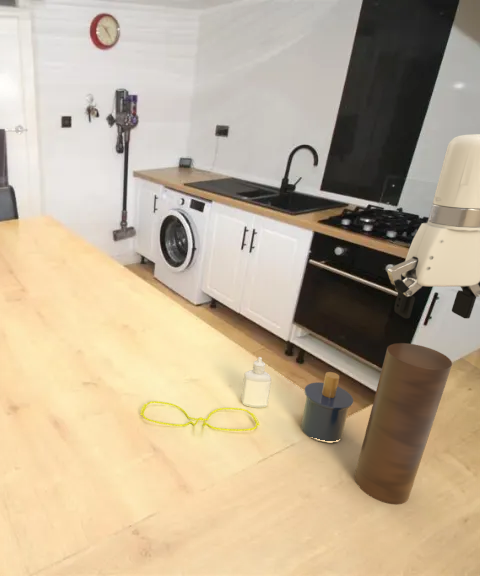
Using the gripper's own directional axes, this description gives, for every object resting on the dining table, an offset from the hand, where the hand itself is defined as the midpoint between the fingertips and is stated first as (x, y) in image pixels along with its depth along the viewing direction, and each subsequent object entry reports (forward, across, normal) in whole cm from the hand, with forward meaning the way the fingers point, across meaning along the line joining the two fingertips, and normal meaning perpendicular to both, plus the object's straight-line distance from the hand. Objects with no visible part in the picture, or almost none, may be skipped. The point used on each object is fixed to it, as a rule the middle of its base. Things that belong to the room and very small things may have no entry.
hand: (430, 315), depth 71 cm
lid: (+20, +12, -4) cm, 23 cm away
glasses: (+28, +37, -6) cm, 47 cm away
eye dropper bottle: (+28, +23, -13) cm, 39 cm away
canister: (+28, +12, -4) cm, 31 cm away
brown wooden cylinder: (+28, +8, +10) cm, 31 cm away
